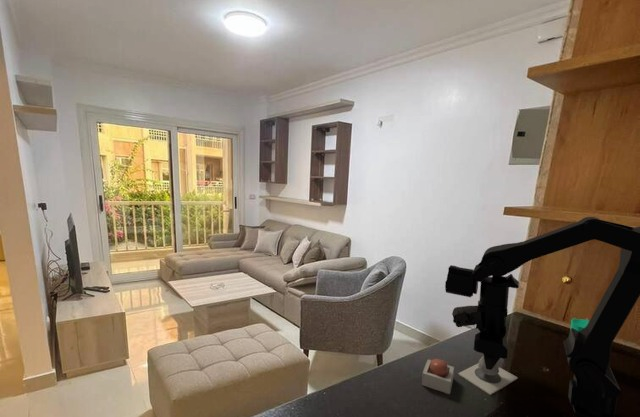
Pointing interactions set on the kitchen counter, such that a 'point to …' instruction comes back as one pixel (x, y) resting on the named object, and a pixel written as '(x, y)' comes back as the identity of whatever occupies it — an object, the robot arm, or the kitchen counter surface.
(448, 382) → the button housing
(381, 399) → the kitchen counter surface
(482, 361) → the rook chess piece
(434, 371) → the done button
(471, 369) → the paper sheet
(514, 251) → the robot arm
